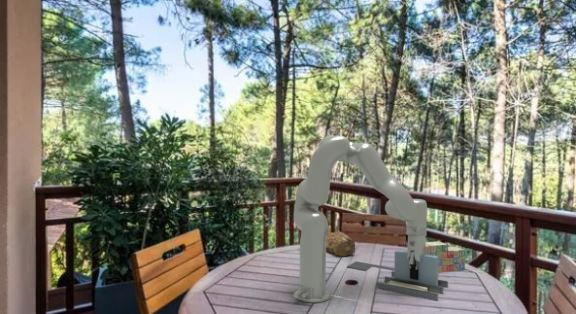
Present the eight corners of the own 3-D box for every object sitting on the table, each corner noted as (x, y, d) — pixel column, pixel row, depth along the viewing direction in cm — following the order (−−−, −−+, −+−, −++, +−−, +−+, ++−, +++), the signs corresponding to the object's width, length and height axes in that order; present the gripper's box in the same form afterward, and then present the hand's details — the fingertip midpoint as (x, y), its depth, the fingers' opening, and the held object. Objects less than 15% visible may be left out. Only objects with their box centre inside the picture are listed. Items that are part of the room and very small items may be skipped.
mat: (394, 276, 162) (394, 275, 162) (346, 267, 174) (346, 266, 174) (401, 270, 170) (401, 269, 170) (355, 262, 183) (355, 261, 183)
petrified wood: (359, 256, 192) (355, 237, 192) (335, 263, 190) (331, 243, 189) (345, 245, 211) (342, 228, 211) (323, 251, 209) (319, 234, 208)
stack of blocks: (455, 266, 178) (455, 239, 178) (465, 270, 172) (465, 242, 172) (415, 270, 172) (415, 242, 171) (424, 274, 166) (424, 246, 165)
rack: (437, 303, 133) (437, 294, 133) (377, 290, 146) (377, 282, 146) (448, 289, 147) (448, 281, 147) (392, 278, 160) (392, 271, 160)
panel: (436, 292, 144) (436, 258, 144) (394, 283, 153) (394, 251, 153) (438, 290, 147) (438, 256, 146) (396, 281, 156) (397, 250, 156)
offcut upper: (424, 295, 138) (424, 291, 138) (386, 288, 146) (386, 283, 146) (427, 292, 142) (427, 287, 142) (390, 284, 150) (390, 280, 150)
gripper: (420, 236, 141) (419, 285, 141) (431, 228, 154) (431, 273, 155) (399, 233, 145) (399, 281, 145) (412, 226, 159) (412, 270, 159)
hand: (415, 277), depth 150 cm, fingers open, 3 cm apart
